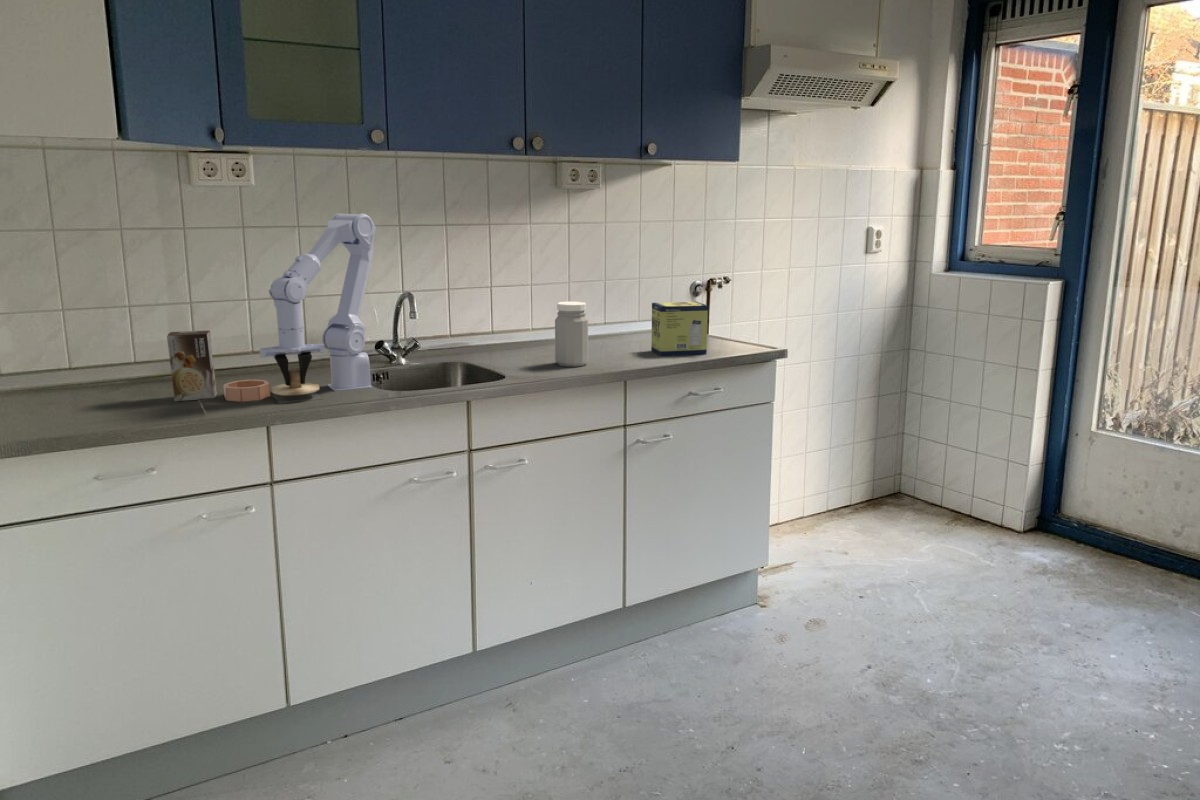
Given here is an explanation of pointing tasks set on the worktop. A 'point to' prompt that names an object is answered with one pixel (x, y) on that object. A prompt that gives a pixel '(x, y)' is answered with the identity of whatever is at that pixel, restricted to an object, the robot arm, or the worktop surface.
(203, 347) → the coffee box
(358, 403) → the worktop surface
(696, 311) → the protein box
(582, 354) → the jar
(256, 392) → the bowl
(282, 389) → the lid
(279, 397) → the mat
